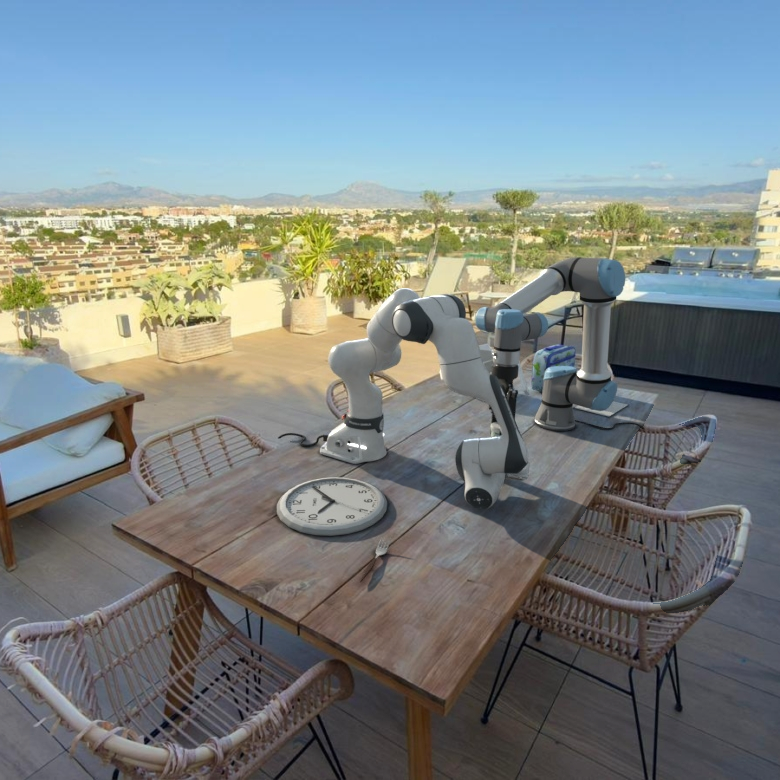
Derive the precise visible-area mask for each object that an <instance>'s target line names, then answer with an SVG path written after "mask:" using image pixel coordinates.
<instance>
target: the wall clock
mask: <svg viewBox="0 0 780 780" xmlns="http://www.w3.org/2000/svg"><path fill="white" fill-rule="evenodd" d="M387 509H388V500H387V498H386V496H385V494H384V493H383V492H382V491H381V490H380V489H379V488H377V487H376V486H374V485H372V484H371V483H369V482H365V481H362V480H359V479H355V478H349V477H338V476H337V477H335V476H333V477H332V476H331V477H322V478H317V479H312V480H307V481H305V482H302V483H299V484H297V485H295V486H293V487H292V488H290V489H288V490H287V491H286V492H285V493H284V494H283V495H281V496H280V498H279V499H278V502H277V503H276V515H277V517H278V518H279V520H280V521H281V522H282V523H283V524H285V525H286V526H287V527H288V528H290V529H293V530H295V531H297V532H299V533H303V534H308V535H312V536H327V537H328V536H329V537H331V536H332V537H333V536H342V535H350V534H352V533H356V532H361V531H363V530H366V529H368V528H369V527H372V526H373V525H375V524H376V523H378V522H379V521H380V520H381V519H382V518H383V517H384V516H385V514H386V512H387Z"/></svg>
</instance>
